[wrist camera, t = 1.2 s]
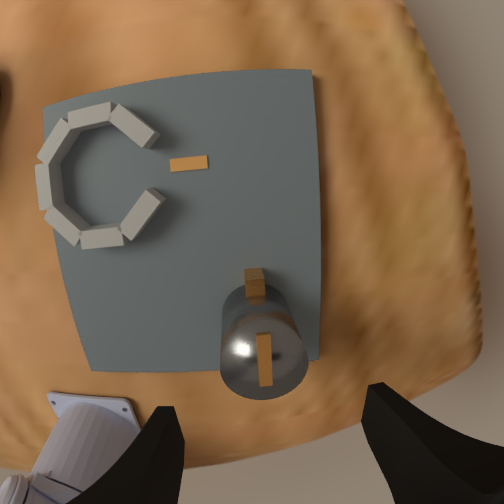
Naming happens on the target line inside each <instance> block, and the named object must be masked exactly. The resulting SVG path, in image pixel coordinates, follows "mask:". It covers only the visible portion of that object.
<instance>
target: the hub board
mask: <svg viewBox="0 0 504 504" xmlns="http://www.w3.org/2000/svg"><path fill="white" fill-rule="evenodd" d="M43 136H44V145H43V147H42V148H41V150H40V152H39V153H38V155H37V157H38V158H39V159H40V160H41V161H42V162H43V163H42V164H38V165H35V175H36V185H37V194H38V202H39V209H40V210H46V209H48V211H47V213H46V214H45V216H44V219H45V220H46V221H47V222H48V223H49V224H50V225H51V226H52V227H53V231H54V237H55V242H56V247H57V252H58V257H59V262H60V267H61V271H62V275H63V280H64V284H65V288H66V292H67V296H68V299H69V303H70V307H71V310H72V314H73V317H74V321H75V324H76V327H77V330H78V334H79V337H80V340H81V343H82V346H83V349H84V352H85V354H86V357H87V360H88V363H89V366H90V368H91V371H105V372H190V371H211V370H220V353H221V327H222V309H223V305H224V303H225V300H226V299H227V297H228V296H229V295H230V294H231V293H232V292H233V291H234V290H235V289H237V288H239V287H240V286H243V285H245V280H244V269H249V268H262V272H263V275H264V279H265V284H267V285H270V286H272V287H274V288H276V289H277V290H279V291H280V292H281V293H282V295H283V296H284V297H285V299H286V301H287V304H288V306H289V309H290V311H291V314H292V316H293V319H294V321H295V324H296V326H297V329H298V331H299V334H300V336H301V339H302V342H303V344H304V347H305V349H306V352H307V355H308V361H314V360H319V340H320V308H321V215H320V183H319V161H318V143H317V128H316V114H315V101H314V90H313V79H312V70H302V69H265V70H240V71H224V72H212V73H202V74H193V75H184V76H177V77H169V78H163V79H156V80H150V81H145V82H139V83H134V84H129V85H124V86H119V87H115V88H110V89H106V90H101V91H97V92H93V93H89V94H86V95H82V96H78V97H75V98H71V99H68V100H64V101H61V102H57V103H54V104H51V105H48V106H45V107H43Z"/></svg>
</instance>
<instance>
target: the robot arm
mask: <svg viewBox="0 0 504 504" xmlns="http://www.w3.org/2000/svg"><path fill="white" fill-rule="evenodd" d="M47 398H48V400H49V402H50V404H51V406H52V408H53V410H54V411H55V413H56V415H57V417H58V421H57V422H56V424H55V426H54V428H53V430H52V432H51V434H50V435H49V437H48V439H47V441H46V443H45V445H44V447H43V449H42V451H41V453H40V455H39V457H38V459H37V461H36V463H35V465H34V467H33V469H32V471H31V473H30V475H29V477H28V478H25V477H24V476H23V475H21V474H18V475H12V476H9V477H8V478H7V479H6V480H5V481H4V483H3V484H2V486H1V487H0V504H177V503H178V497H179V491H180V485H181V478H182V472H183V466H184V445H185V441H184V438H183V434H182V431H181V428H180V425H179V422H178V419H177V415H176V412H175V409H174V406H158V407H157V408H156V409H155V410H154V412H153V413H152V415H151V416H150V418H149V419H148V421H147V422H146V424H145V425H144V427H143V428H142V430H141V428H140V426H139V423H138V421H137V418H136V416H135V413H134V411H133V408H132V406H131V403H130V402H129V401H128V400H127V399H125V398H112V397H97V396H85V395H74V394H65V393H57V392H49V393H48V394H47ZM125 408H127V409H125ZM361 423H362V426H363V429H364V432H365V435H366V438H367V441H368V444H369V446H370V448H371V450H372V452H373V454H374V456H375V458H376V460H377V462H378V464H379V466H380V468H381V471H382V473H383V474H384V477H385V479H386V481H387V483H388V485H389V488H390V490H391V493H392V496H393V498H394V502H395V504H504V447H501V446H498V445H493V444H490V443H486V442H483V441H480V440H477V439H475V438H472V437H469V436H467V435H464V434H462V433H460V432H458V431H456V430H454V429H451V428H449V427H448V426H445V425H444V424H442V423H440V422H439V421H437V420H435V419H434V418H432V417H430V416H429V415H427V414H426V413H424V412H423V411H421V410H420V409H418V408H417V407H415V406H414V405H413V404H411V403H410V402H409V401H407V400H406V399H405V398H403V397H402V396H401V395H399V394H398V393H397V392H395V391H394V390H393V389H391V388H390V387H389V386H387V385H386V384H385V383H383V382H381V383H376V384H372V385H368V390H367V395H366V400H365V405H364V410H363V415H362V419H361Z"/></svg>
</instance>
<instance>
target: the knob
mask: <svg viewBox="0 0 504 504" xmlns="http://www.w3.org/2000/svg"><path fill="white" fill-rule="evenodd" d="M244 280H245V285H243V286H240V287H239V288H237V289H235V290H234V291H233V292H232V293H231V294H230V295H229V296H228V297H227V299H226V300H225V303H224V305H223V309H222V327H221V353H220V372H221V376H222V379H223V381H224V382H225V384H226V385H227V386H228V387H229V388H230V389H231V390H232V391H233V392H235V393H236V394H238V395H240V396H243V397H245V398H249V399H255V400H267V399H273V398H277V397H280V396H283V395H285V394H287V393H289V392H290V391H292V390H293V389H294V388H296V387H297V386H298V385H299V384H300V382H301V381H302V380H303V378H304V377H305V375H306V372H307V369H308V363H309V362H308V355H307V352H306V349H305V347H304V344H303V342H302V339H301V336H300V334H299V331H298V329H297V326H296V324H295V321H294V319H293V316H292V314H291V311H290V309H289V306H288V304H287V301H286V299H285V297H284V296H283V295H282V293H281V292H280V291H279V290H277V289H276V288H274V287H272V286H270V285H267V284H265V279H264V275H263V272H262V268H249V269H244Z"/></svg>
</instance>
